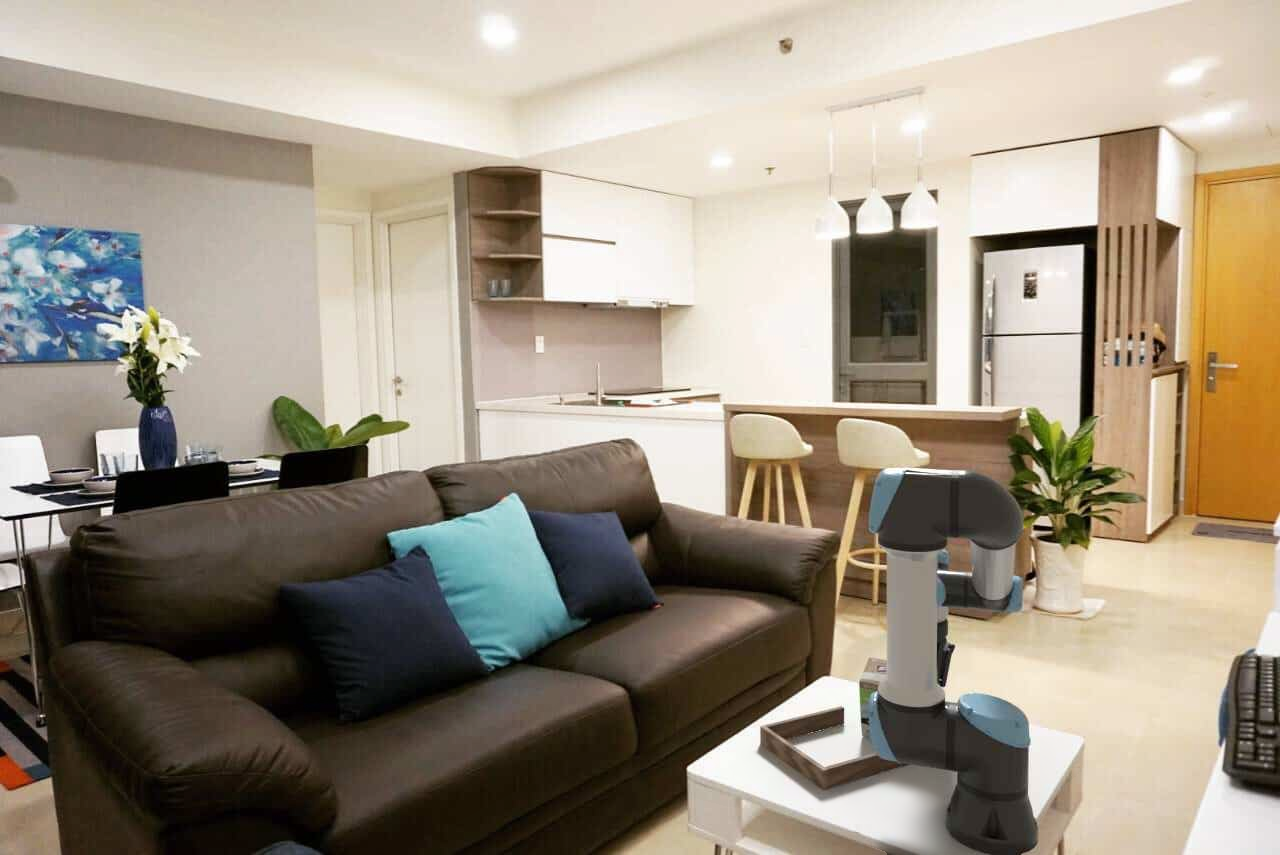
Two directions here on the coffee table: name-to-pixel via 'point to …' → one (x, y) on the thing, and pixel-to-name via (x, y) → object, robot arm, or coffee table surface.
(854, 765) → the frame
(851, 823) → the coffee table surface
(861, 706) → the tea box
